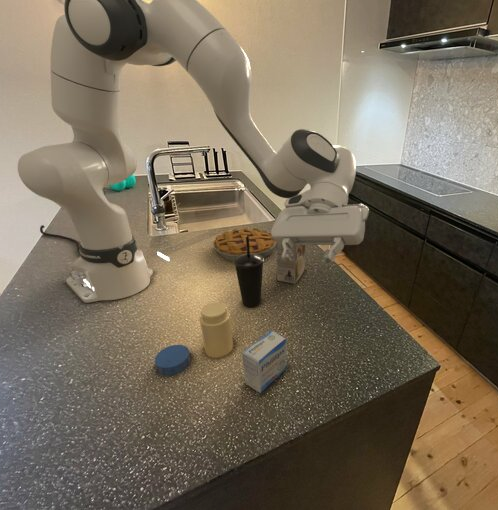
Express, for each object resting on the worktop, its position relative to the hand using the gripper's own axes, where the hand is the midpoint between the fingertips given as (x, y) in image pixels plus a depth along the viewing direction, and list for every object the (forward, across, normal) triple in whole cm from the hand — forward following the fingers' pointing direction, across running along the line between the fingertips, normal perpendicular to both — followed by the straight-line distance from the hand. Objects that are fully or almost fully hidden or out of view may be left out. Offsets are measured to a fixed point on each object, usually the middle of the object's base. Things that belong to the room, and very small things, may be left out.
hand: (306, 259), depth 59 cm
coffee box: (-13, +25, -31) cm, 42 cm away
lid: (+21, +28, -5) cm, 35 cm away
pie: (-23, +48, -30) cm, 61 cm away
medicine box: (+20, +10, -14) cm, 26 cm away
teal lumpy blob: (-57, +143, -22) cm, 156 cm away
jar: (+16, +23, -12) cm, 31 cm away
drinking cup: (+2, +27, -20) cm, 34 cm away
